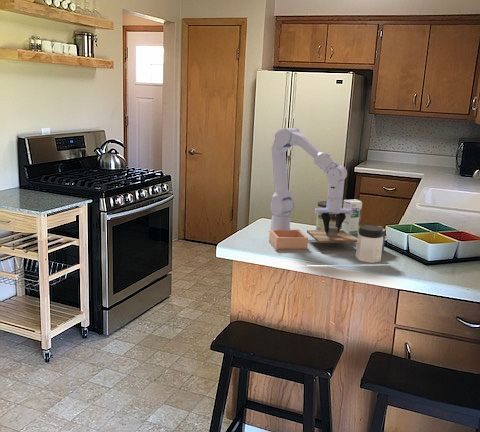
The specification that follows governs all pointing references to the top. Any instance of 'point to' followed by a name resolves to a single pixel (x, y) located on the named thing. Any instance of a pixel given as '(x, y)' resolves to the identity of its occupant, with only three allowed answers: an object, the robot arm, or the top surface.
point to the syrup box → (352, 216)
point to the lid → (331, 236)
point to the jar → (369, 243)
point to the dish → (287, 239)
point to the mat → (330, 246)
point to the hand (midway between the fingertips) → (331, 232)
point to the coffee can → (320, 221)
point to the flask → (383, 238)
